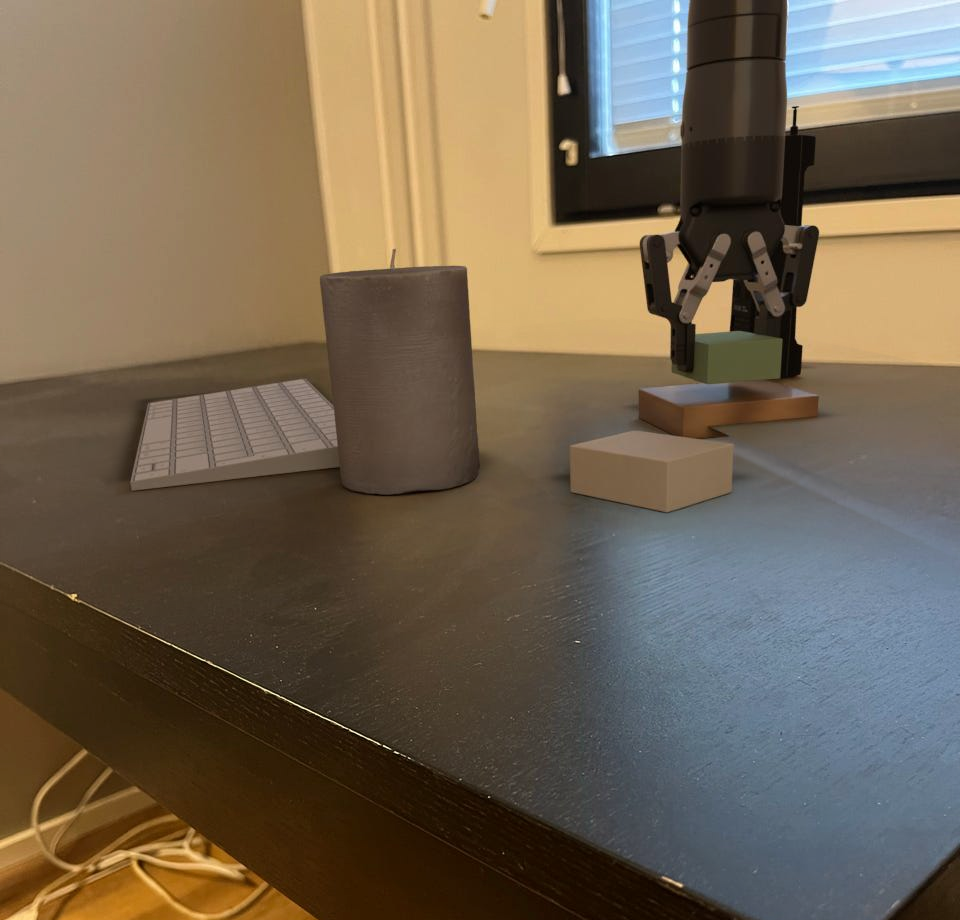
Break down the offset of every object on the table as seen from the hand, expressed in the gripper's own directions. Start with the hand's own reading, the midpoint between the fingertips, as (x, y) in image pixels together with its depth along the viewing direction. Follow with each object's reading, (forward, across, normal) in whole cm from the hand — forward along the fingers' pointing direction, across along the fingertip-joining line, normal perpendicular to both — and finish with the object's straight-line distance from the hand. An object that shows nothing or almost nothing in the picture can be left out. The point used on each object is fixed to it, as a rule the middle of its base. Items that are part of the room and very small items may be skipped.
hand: (724, 367), depth 80 cm
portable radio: (+5, +14, +24) cm, 28 cm away
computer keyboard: (+5, -40, +17) cm, 44 cm away
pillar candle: (+5, -27, -10) cm, 29 cm away
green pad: (+1, 0, 0) cm, 1 cm away
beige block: (+4, -13, -20) cm, 24 cm away
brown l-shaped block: (+4, 0, 0) cm, 4 cm away
